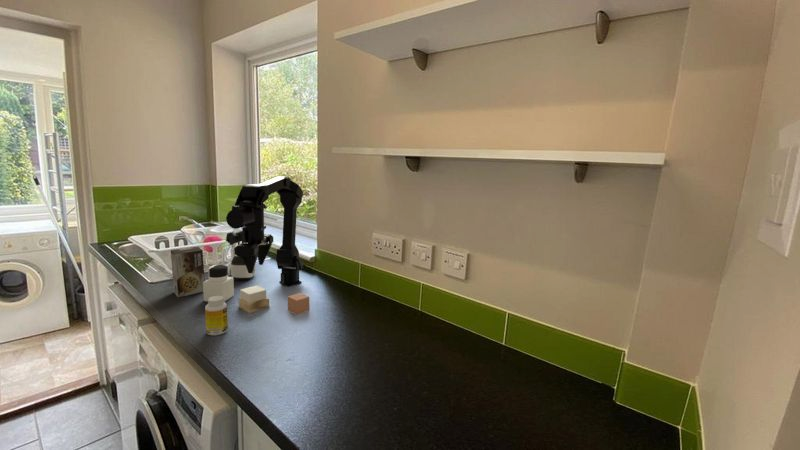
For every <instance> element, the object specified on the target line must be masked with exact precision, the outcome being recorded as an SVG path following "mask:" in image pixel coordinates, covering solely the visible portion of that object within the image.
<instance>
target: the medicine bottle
mask: <svg viewBox="0 0 800 450" xmlns="http://www.w3.org/2000/svg"><path fill="white" fill-rule="evenodd" d="M207 269H208V271H207V273H208V279H206V280H205V281H204V282H203V292H202V293H203V301H204V302H208V299H209V298H210V297H213V296H223V297H224V302H225V303H226V301H227V300H229V299H230V298H232V297H234V296H235V287H234V286H235V285H234V284H235V283H234V282H235V279H233V277H232V276H229V273H228V265H225V264H214V265H211V266H209V267H208V268H207Z"/></svg>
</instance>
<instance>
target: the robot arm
mask: <svg viewBox="0 0 800 450" xmlns="http://www.w3.org/2000/svg"><path fill="white" fill-rule="evenodd" d="M274 193H277V195H278V196H279V201H280V202H279V203H281V205H282V208H283V221H282V222H283V223H282V244H281V245H280V247H279V248H277V250H276V256H275V257H276V258H275V260H276V262H275V263H276V266H277V269H278V270H281V272H280V280H279V284H282V285H284V286H285V287H286V286H287V287H291V286H295V285H298V284H302V281H301V280H300V271H302V270H303V266H304V262H303V261H302V259H301V258H300V250H299V249H298V247H297V245H296V232H297V231H296V230H297V214H298V212H297V211H298V208H299V206H301V203H302V199H303V196H304V190H303V189H302V188H301V187H300V185H299V184H298V183H296V182H295V181H293V180H292V179H291V178H290V177H289V176H284V175H282V176H281V175H277V176H275V177H273V178H271V179H269V180H266V181H264V182H261V183H252V184H251V183H250V184H249V183H248V184H244V185H242V187H241V188H240V191H239V193H238V196H237V198H236V200H235V203H234V205H233V206H231V210H229V211H228V213H227V215H226V216H225V219H226V223H227V225H228V226H229V227H230V228H232V229H234V230H237V229H241V230H240V231H236V232H235V231H231V232H228V233H226V237H225V242H227V243H229V246H233V245H234V244H237V245H236V246H235V247H234V248H233V255H234V254H235V255H237V256H239V257H241V258H242V259H243V260H244V263H245V265H246V268H247V270H248V273H252V272H253V270H254V267H255V268H256V263H257V262H258V265H259V266H263V265H264V262H265V261H266V258H267V256H268V253H269V252H270V250H271V247H272V245H273V243H274V236H273V235H272V234H271V233H270V234H269V233H267V234H266V233H265V230H266V229H267V225H266V224H265V212H264V211H265V209H267V208H268V207H267V205H266V204H265V202H266V201H267V200H269V198H270V195H272V194H274ZM238 243H239V244H238ZM257 260H258V261H257Z"/></svg>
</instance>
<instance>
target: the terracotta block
mask: <svg viewBox="0 0 800 450" xmlns="http://www.w3.org/2000/svg"><path fill="white" fill-rule="evenodd" d="M287 311H288V312H290V313H293V314H294V315H295V316H297V315H300V314H302V313H305V312H308V311H310V296H308V295H307V294H304V293H302V292H298V293H295V294H292V295H291V294H290V295H288V296H287Z"/></svg>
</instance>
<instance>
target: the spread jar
mask: <svg viewBox="0 0 800 450" xmlns="http://www.w3.org/2000/svg"><path fill="white" fill-rule="evenodd" d="M227 267H228V275H231V276H230V277H233V279H234V281H238V282H243V281H244V282H245V281H250V280H252V279H253V278H254V277H255V273H256V266H255V267H254V270H253V272H252V273H248V270H247V268H246V265H245V263H244V260H243V259H242V258H241V257H239V256H237V255H235V254H234V253H233V257H232V259H231V262H230V263H229V264H228V265H227Z"/></svg>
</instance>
